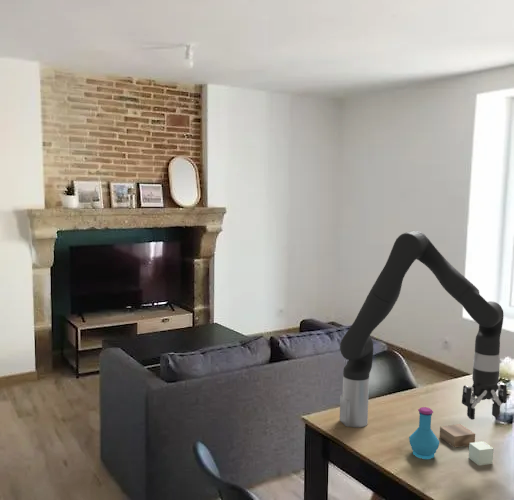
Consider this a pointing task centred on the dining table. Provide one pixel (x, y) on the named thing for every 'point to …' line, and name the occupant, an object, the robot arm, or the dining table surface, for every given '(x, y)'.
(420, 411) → the perfume bottle
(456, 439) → the brown wooden block
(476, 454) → the sage cube
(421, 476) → the dining table surface
